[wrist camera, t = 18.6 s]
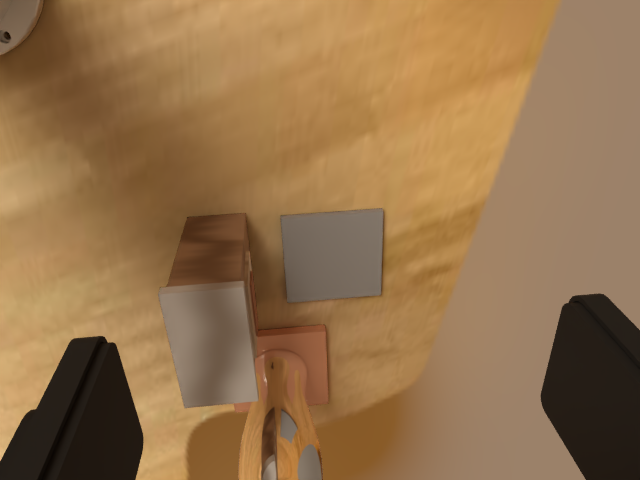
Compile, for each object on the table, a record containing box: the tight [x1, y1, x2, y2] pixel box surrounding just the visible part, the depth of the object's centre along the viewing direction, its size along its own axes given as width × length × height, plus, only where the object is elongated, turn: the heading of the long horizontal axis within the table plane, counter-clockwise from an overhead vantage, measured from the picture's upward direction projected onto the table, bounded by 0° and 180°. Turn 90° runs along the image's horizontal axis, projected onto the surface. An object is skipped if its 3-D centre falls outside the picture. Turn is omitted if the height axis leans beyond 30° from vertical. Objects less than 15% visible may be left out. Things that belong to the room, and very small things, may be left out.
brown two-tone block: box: [158, 213, 259, 408], centre depth 42 cm, size 6×11×12 cm, turn 2°
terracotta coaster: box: [234, 325, 328, 412], centre depth 53 cm, size 10×10×1 cm
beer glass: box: [238, 350, 323, 480], centre depth 46 cm, size 7×7×15 cm
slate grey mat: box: [281, 208, 383, 303], centre depth 47 cm, size 9×9×1 cm
